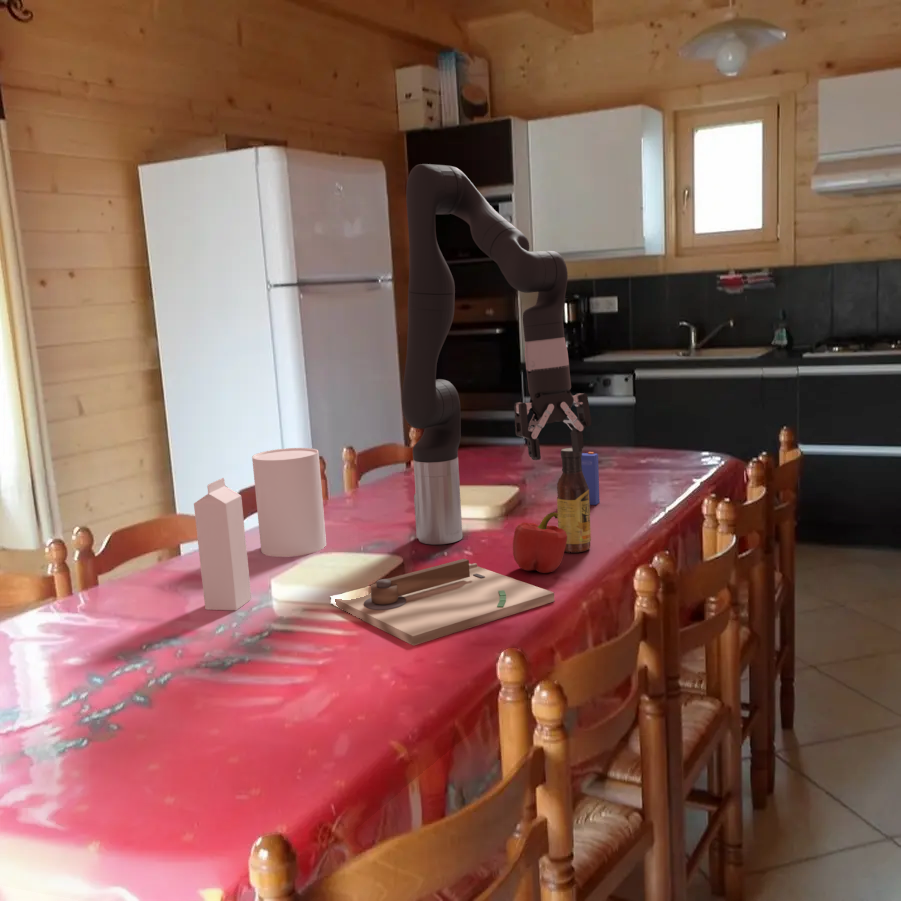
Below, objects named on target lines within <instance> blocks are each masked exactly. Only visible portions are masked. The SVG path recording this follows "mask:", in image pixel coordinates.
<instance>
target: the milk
mask: <svg viewBox="0 0 901 901" xmlns="http://www.w3.org/2000/svg"><path fill="white" fill-rule="evenodd" d="M225 482H226V481H225V478H224V477H222V478H220V479H218V480H216V481H213V482H211V483H209V484H207V494H206V495H204V496H203V497H201V498H199V499H198V500H197V501H195V502H194V503H193V508H194V519H195V527H196V528H195V530H196V536H197V538H196V539H197V545H198V554H199V563H200V564H199V565H200V573H201V574H200V575H201V581H202V592H203V600H204V608H205V609H204V610H207V611H208V610H209V611H210V610H211V611H212V610H213V611H238V610H239V609H241V607H243V606H244V605H246V604H247V603H249V601H251V600H252V592H251V591H252V589H251V581H250V580H251V579H250V571H249V558H248V550H247V541H246V531H245V530H246V529H245V522H244V521H245V519H244V511H243V510H244V509H243V500H242V499H243V498H242V495H241V494H239V493H238V492H236V491H234V490H233V489H231V488H230V487H227V486H226V485H225V484H226V483H225Z"/></svg>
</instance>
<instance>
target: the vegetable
mask: <svg viewBox="0 0 901 901" xmlns="http://www.w3.org/2000/svg"><path fill="white" fill-rule="evenodd" d="M552 518H554V519H558V512H554V511H553V512H549V513H548V514H546V515H545V516H544V517H543V519H542V520H541V521H540V524H537V523H534V522H521V523H518V524H517V525H516V527H515V529H514V534H513V540H512V555H513V559H514V561H515V563H516V565H518V567H519V568H521V569H522V570H524V571H537V572H539V573H540V574H549V573H552V572H555V570H557V569H558V568H559V567H560V565H561V563H562V561H563V559H564V554H565V552H564V551H565V546H566V542H567V534H566V532H565V531H564V530H563V529H562V528H558V526H557V525H549V524H548V523H549V522H550V520H551V519H552Z"/></svg>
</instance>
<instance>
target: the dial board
mask: <svg viewBox="0 0 901 901" xmlns="http://www.w3.org/2000/svg"><path fill="white" fill-rule="evenodd" d="M470 564H471V563H469V565H470ZM469 571H470V577H467V578H464V579H460V580H456V581H453V582H449V583H446V584H442V585H438V586H435V587H431V588H428V589H424V590H420V591H417V592H413V593H410V594H406V595H402V596H399V597H398V600H397V601H396V602H394V603H390V604H375V603H373V602H372V600H371V593H370V594H368V595H366V596H364V597H360V598H356V599H351V600H342V599H335V602H336V605H337V606H338V607H339V608H341V609H343V610H344V611H343V610H342V611H343V612H345V611H346V612H345V613H347V612H348V613H347V614H349V613H350V614H349V615H351V614H352V615H351V616H353V617H355V616H356V617H355V618H357V619H359V618H360V619H359V620H361V619H362V620H361V621H363V622H364V623H367V624H369V625H371V626H373V627H374V628H378V629H379V630H381V631H383V632H385V633H387V634H389V635H391V636H394V637H395V638H397V639H399V640H401V641H403V642H405V643H408V644H409V645H411V646H416V645H417V646H418V645H420V644H423V643H426V642H429V641H432V640H436V639H439V638H441V637H446V636H449V635H451V634H452V635H453V634H455V633H458V632H461V631H464V630H467V629H471V628H474V627H477V626H480V625H483V624H486V623H490V622H494V621H496V620H499V619H503V618H506V617H509V616H512V615H515V614H519V613H522V612H525V611H528V610H531V609H534V608H538V607H541V606H544V605H547V604H550V603H553V602H555V592H553V591H552V590H549V589H545V588H542V587H538V586H537V585H536V586H535V585H533V584H530V583H527V582H524V581H521V580H519V579H515V578H513V577H510V576H506V575H504V574H501V573H498V572H495V571H492V570H490V569H486V568H485V567H480V566H478V565H477V567H476V568H472V569H469ZM339 608H338V609H339ZM341 609H340V610H341Z"/></svg>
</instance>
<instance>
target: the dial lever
mask: <svg viewBox="0 0 901 901" xmlns="http://www.w3.org/2000/svg"><path fill="white" fill-rule="evenodd" d="M469 564H470V565H469ZM477 566H478V563H476V562H475V563H474V562H473V563H470V559H466V558H460V559H458V560H454V561H450V562H446V563H442V564H439V565H435V566H431V567H427V568H423V569H420V570H416V571H412V572H409V573H404V574H400V575H397V576H392V577H389V578H383V579H382V578H381V579H378V580H376V582H375V583H373V584H370V585H371V600H372V602H373V603H375V604H390V603H394V602H396V601H397V600H398V597H399V596H402V595H406V594H410V593H413V592H417V591H420V590H424V589H428V588H431V587H435V586H438V585H442V584H446V583H449V582H453V581H456V580H460V579H464V578H467V577H470V571H469V569H472V568H476V567H477Z"/></svg>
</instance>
